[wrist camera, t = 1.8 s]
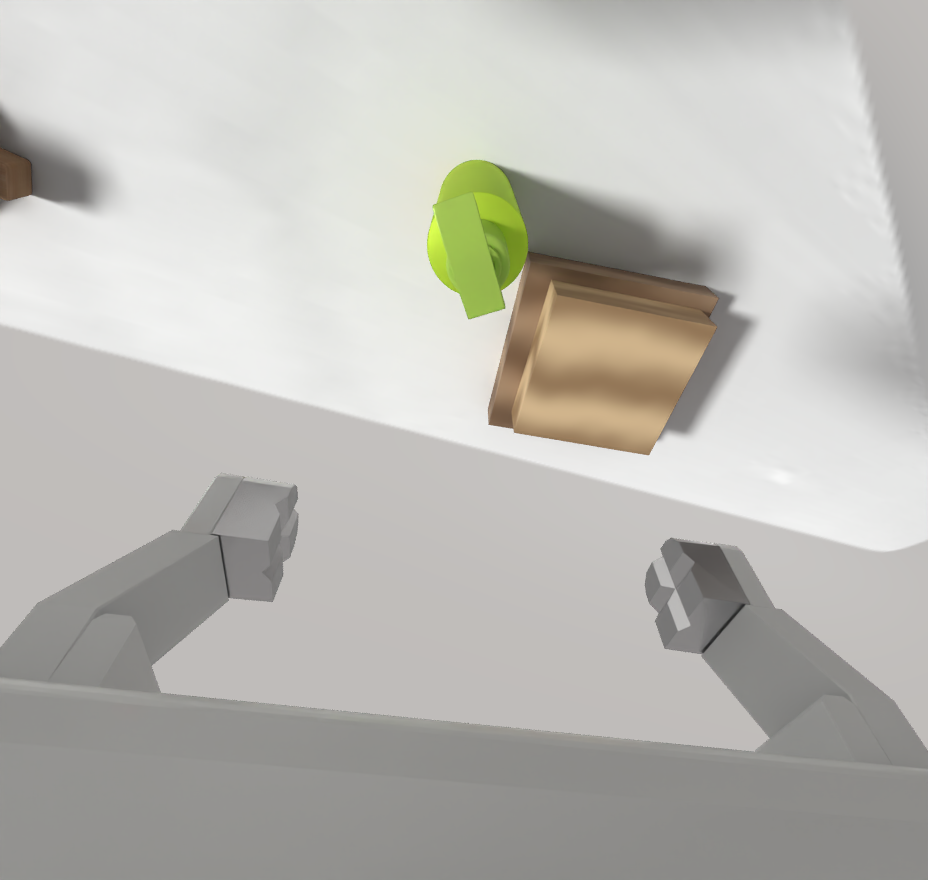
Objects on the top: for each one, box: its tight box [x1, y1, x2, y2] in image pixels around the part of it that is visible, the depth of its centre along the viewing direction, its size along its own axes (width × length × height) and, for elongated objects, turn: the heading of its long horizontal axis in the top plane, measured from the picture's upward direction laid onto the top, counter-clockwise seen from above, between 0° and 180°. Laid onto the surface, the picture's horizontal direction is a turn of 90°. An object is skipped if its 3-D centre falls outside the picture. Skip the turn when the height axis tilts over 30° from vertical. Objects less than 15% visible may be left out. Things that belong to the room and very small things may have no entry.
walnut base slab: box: [488, 252, 719, 429], centre depth 46 cm, size 16×16×4 cm
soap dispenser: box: [427, 160, 528, 319], centre depth 31 cm, size 6×7×20 cm
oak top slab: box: [511, 280, 717, 455], centre depth 43 cm, size 13×13×4 cm
